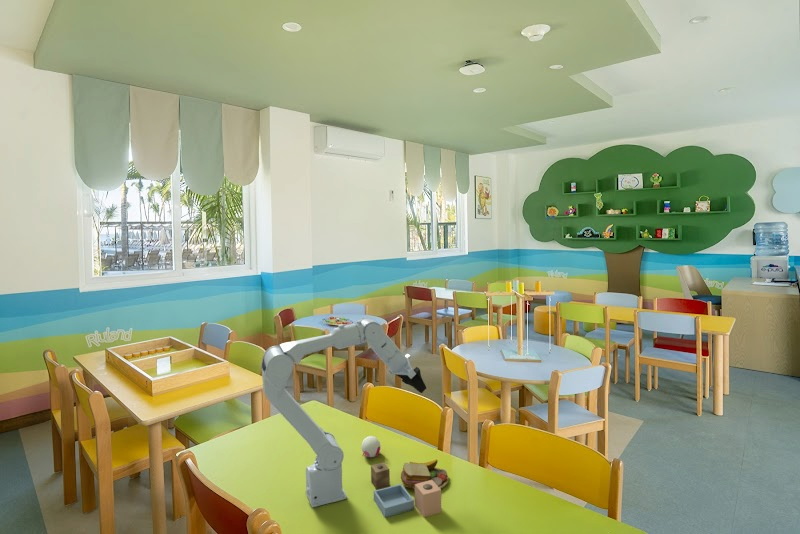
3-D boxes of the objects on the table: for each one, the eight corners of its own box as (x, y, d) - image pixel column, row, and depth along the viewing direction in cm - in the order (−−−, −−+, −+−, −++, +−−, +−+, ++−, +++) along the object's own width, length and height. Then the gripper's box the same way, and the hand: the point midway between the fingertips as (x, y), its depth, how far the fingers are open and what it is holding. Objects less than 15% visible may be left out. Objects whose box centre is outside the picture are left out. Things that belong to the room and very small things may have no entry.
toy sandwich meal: (451, 494, 123) (451, 477, 122) (401, 495, 122) (401, 478, 122) (445, 469, 135) (445, 454, 135) (400, 470, 135) (399, 455, 134)
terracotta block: (423, 517, 113) (423, 494, 112) (414, 506, 117) (414, 484, 117) (441, 512, 115) (441, 489, 114) (431, 501, 119) (431, 479, 119)
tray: (384, 517, 112) (384, 508, 112) (373, 499, 120) (373, 491, 120) (414, 509, 116) (413, 500, 115) (401, 492, 123) (401, 483, 123)
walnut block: (376, 489, 125) (375, 472, 124) (371, 482, 128) (370, 465, 128) (389, 486, 126) (389, 468, 126) (384, 478, 130) (384, 462, 129)
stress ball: (375, 471, 140) (387, 455, 139) (354, 457, 140) (366, 440, 139) (378, 457, 147) (389, 442, 146) (358, 444, 147) (369, 428, 146)
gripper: (410, 349, 120) (439, 383, 124) (389, 337, 133) (416, 368, 138) (391, 368, 118) (421, 402, 123) (372, 354, 132) (400, 385, 136)
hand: (417, 386), depth 130 cm, fingers open, 7 cm apart
